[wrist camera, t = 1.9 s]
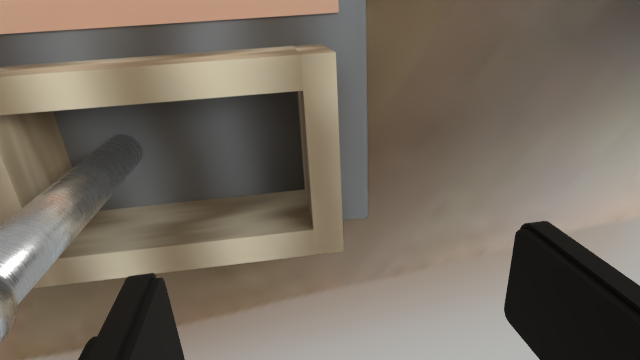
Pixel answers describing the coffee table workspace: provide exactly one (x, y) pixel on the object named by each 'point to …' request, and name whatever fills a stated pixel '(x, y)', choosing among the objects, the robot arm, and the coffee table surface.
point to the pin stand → (174, 116)
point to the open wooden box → (184, 217)
